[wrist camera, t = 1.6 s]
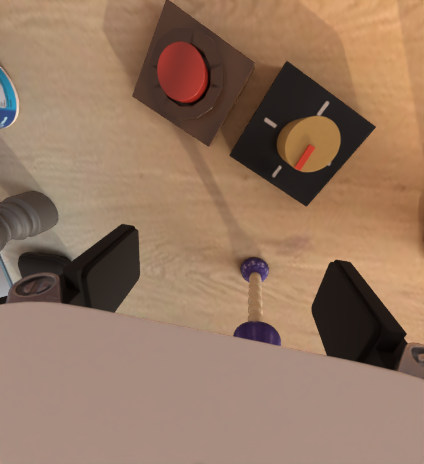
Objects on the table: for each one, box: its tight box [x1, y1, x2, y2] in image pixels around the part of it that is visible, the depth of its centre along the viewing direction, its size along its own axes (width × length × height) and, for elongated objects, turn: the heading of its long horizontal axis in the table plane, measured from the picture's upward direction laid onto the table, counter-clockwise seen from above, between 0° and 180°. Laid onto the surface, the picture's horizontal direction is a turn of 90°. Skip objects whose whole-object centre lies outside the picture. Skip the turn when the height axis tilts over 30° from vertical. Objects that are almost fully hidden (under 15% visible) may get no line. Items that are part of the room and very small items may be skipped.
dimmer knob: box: [277, 116, 340, 172], centre depth 21 cm, size 4×4×6 cm
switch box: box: [133, 0, 255, 147], centre depth 23 cm, size 10×9×4 cm
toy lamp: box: [233, 258, 281, 346], centre depth 26 cm, size 5×5×17 cm
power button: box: [157, 41, 208, 103], centre depth 20 cm, size 4×4×2 cm
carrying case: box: [18, 252, 71, 278], centre depth 40 cm, size 11×3×15 cm
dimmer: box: [230, 61, 376, 206], centre depth 24 cm, size 11×10×3 cm
